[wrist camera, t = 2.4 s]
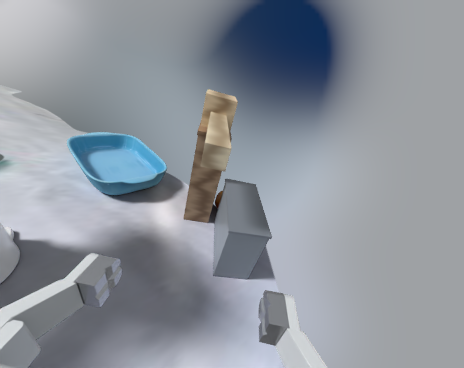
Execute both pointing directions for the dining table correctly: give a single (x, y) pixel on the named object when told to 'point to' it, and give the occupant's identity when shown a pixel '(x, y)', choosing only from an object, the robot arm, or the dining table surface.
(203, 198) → the shelf block
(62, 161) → the dining table surface
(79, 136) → the casserole dish
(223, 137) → the mallet
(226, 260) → the storage box
